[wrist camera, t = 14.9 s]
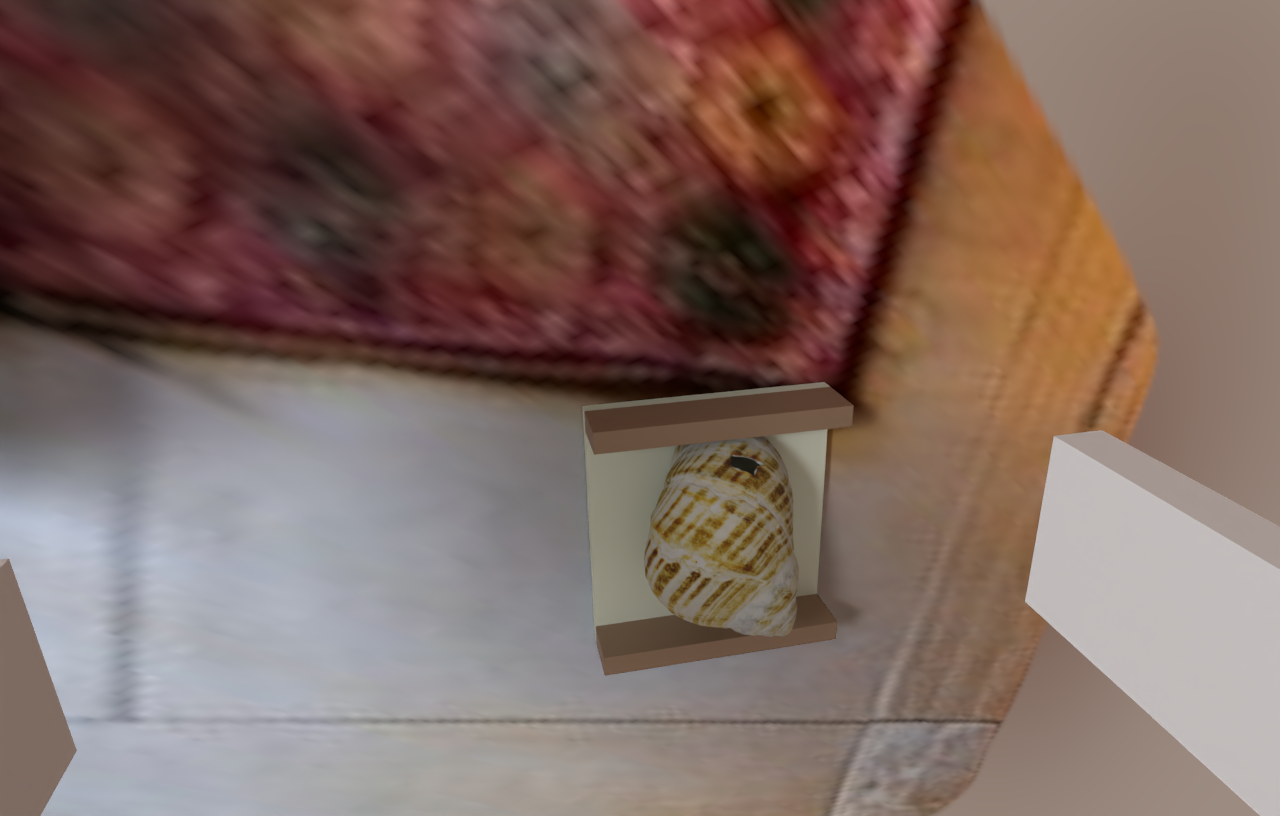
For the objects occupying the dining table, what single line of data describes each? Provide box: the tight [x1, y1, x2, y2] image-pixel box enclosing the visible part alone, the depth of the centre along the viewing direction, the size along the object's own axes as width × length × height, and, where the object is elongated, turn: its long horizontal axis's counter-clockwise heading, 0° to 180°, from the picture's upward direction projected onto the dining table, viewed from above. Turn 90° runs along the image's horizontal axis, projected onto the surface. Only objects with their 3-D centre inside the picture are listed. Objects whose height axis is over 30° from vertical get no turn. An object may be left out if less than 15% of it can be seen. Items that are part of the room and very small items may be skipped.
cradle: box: [582, 382, 854, 675], centre depth 48 cm, size 14×15×4 cm
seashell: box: [644, 436, 799, 637], centre depth 45 cm, size 10×10×10 cm
